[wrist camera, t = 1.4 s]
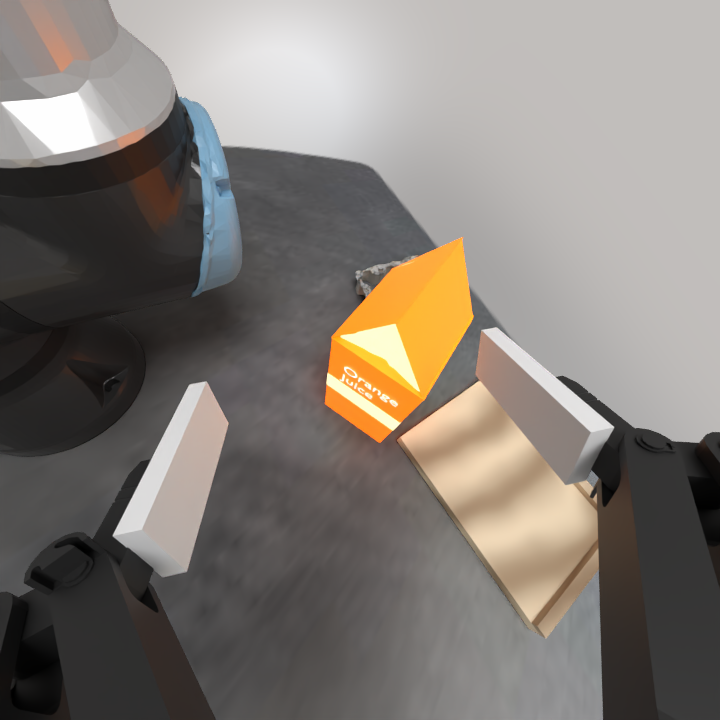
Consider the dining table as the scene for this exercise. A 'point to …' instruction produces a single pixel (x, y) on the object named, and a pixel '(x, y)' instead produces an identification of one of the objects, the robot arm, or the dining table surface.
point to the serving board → (509, 505)
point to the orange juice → (399, 341)
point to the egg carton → (376, 275)
